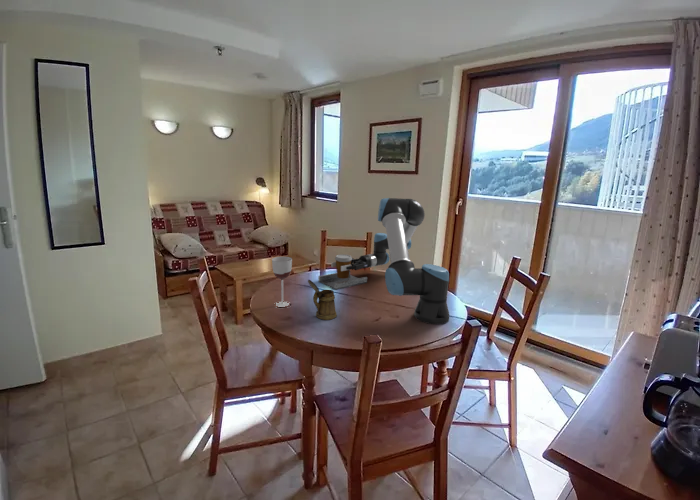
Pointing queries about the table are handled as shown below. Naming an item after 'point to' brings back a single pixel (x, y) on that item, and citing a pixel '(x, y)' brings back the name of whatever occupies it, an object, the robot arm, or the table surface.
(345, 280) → the tray
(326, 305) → the wooden mug
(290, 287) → the table surface
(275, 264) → the wineglass
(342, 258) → the disposable coffee cup
